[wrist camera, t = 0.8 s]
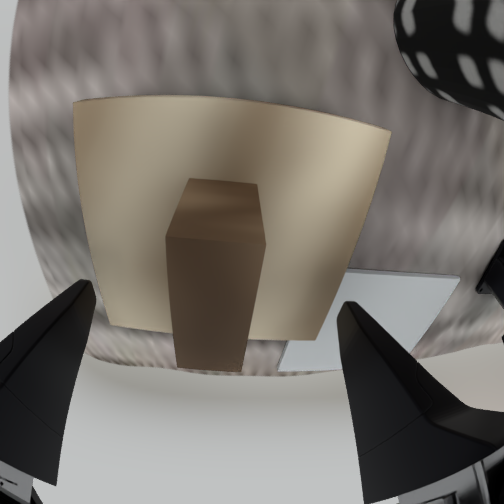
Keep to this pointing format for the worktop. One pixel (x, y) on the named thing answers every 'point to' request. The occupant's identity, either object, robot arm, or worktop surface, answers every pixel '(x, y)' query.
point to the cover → (221, 216)
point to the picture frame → (374, 313)
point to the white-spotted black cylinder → (455, 49)
